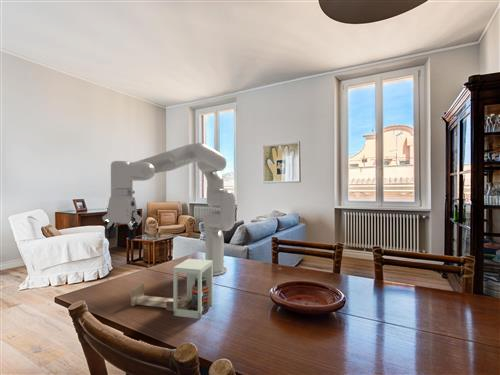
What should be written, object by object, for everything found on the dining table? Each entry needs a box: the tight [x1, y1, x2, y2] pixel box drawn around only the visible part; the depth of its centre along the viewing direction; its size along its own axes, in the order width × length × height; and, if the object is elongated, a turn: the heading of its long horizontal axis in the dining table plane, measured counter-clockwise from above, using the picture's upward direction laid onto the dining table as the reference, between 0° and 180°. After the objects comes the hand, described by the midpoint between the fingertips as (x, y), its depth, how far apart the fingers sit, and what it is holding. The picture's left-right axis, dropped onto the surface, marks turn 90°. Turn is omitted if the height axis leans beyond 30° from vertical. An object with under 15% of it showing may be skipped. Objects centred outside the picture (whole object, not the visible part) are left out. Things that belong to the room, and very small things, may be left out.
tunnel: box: [172, 258, 214, 320], centre depth 94 cm, size 11×10×16 cm
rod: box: [130, 283, 192, 310], centre depth 97 cm, size 22×7×6 cm, turn 77°
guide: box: [165, 295, 182, 312], centre depth 96 cm, size 5×3×3 cm, turn 167°
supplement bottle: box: [191, 277, 210, 315], centre depth 94 cm, size 6×6×11 cm
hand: (121, 238), depth 101 cm, fingers open, 8 cm apart
